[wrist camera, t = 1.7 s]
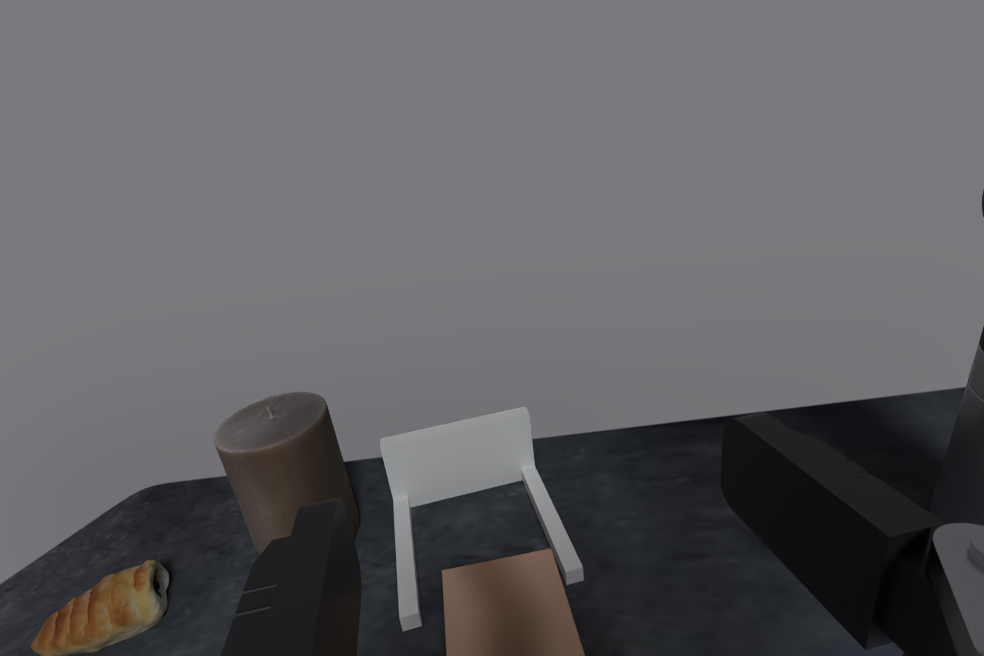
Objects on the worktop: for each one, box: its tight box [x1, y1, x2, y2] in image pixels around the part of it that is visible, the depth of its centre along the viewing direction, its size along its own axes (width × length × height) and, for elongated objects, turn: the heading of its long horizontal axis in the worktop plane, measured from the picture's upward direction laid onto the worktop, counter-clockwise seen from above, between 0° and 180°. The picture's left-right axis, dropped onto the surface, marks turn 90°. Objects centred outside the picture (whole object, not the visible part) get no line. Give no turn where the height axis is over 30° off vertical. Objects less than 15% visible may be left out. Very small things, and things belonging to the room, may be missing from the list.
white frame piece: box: [380, 407, 584, 631], centre depth 45 cm, size 15×15×8 cm
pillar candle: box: [212, 392, 360, 556], centre depth 47 cm, size 10×10×15 cm
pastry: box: [31, 560, 169, 656], centre depth 42 cm, size 9×7×4 cm
